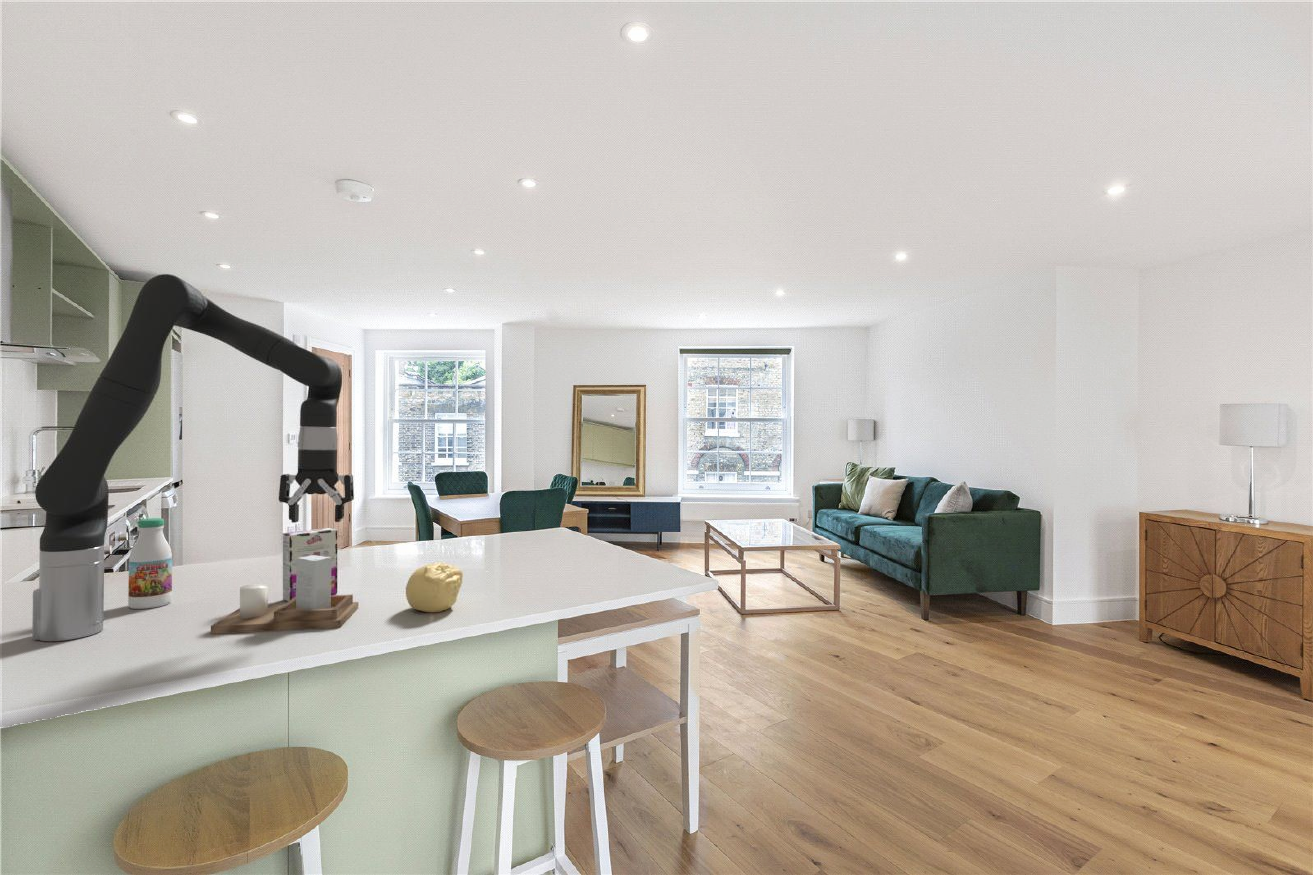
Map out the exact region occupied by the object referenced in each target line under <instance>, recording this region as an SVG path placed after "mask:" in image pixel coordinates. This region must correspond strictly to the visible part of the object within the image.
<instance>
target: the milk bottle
mask: <svg viewBox="0 0 1313 875" xmlns="http://www.w3.org/2000/svg"><path fill="white" fill-rule="evenodd" d="M137 527H138V528H137V529H138V530H139V532H138V533H139V534H138V535H137V536H138V537H137V539H136V541H135V543H134V544H133V546H132V548H131V550H130V552H129V553H130V554H129V557H128V589H127V590H128V591H127V592H128V593H127V594H128V595H127V596H128V597H127V602H128V607H129V609H132V610H144V609H153V608H159V607H162V606H166V605H169V604H171V601H172V597H173V596H172V595H173V555H172V550H171V546H170V545H169V543H168V541H167V539H166V537H165V534H164V531H163V530H164V527H165V518H163V517H162V518H160V517H152V518H151V517H149V518H142V519H139V520H138V521H137Z"/></svg>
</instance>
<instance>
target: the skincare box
mask: <svg viewBox="0 0 1313 875" xmlns="http://www.w3.org/2000/svg"><path fill="white" fill-rule="evenodd" d="M309 609H331V557H323V556H316V555H312V556H306V557H300V558H297V579H296V610H309Z"/></svg>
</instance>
